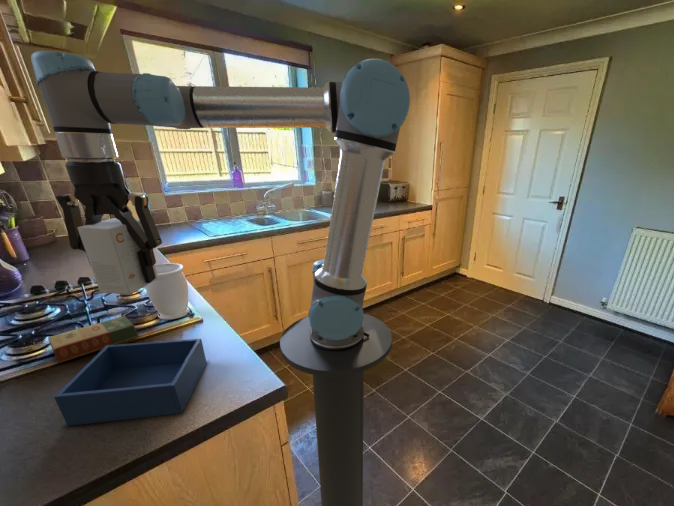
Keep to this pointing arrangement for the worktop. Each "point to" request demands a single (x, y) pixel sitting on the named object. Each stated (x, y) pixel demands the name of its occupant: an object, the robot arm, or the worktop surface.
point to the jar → (169, 291)
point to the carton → (92, 338)
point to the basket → (133, 382)
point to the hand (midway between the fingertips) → (129, 281)
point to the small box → (113, 257)
